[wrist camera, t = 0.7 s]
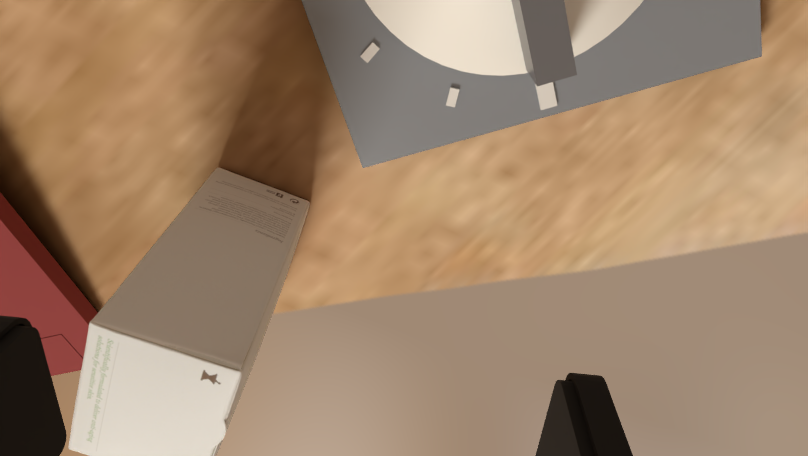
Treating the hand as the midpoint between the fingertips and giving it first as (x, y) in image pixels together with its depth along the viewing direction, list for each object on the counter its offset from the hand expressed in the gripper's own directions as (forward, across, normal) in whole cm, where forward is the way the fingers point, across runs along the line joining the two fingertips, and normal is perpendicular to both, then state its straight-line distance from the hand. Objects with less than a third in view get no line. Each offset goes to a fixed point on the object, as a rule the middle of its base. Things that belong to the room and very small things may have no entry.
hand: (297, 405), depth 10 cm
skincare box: (+25, +9, +11) cm, 29 cm away
